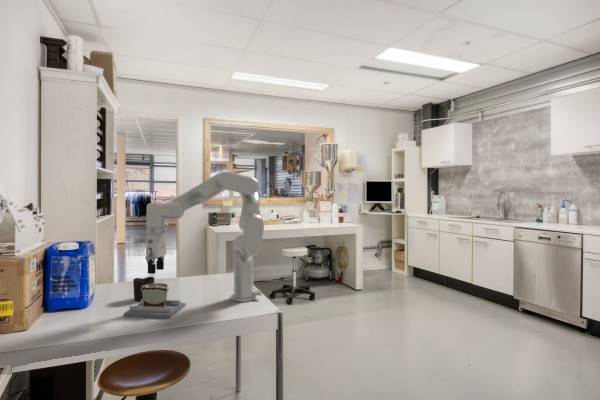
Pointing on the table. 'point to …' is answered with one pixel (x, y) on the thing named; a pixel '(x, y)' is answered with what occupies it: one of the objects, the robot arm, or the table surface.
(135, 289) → the pen holder
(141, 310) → the rail plate
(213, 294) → the table surface
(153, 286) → the food container
